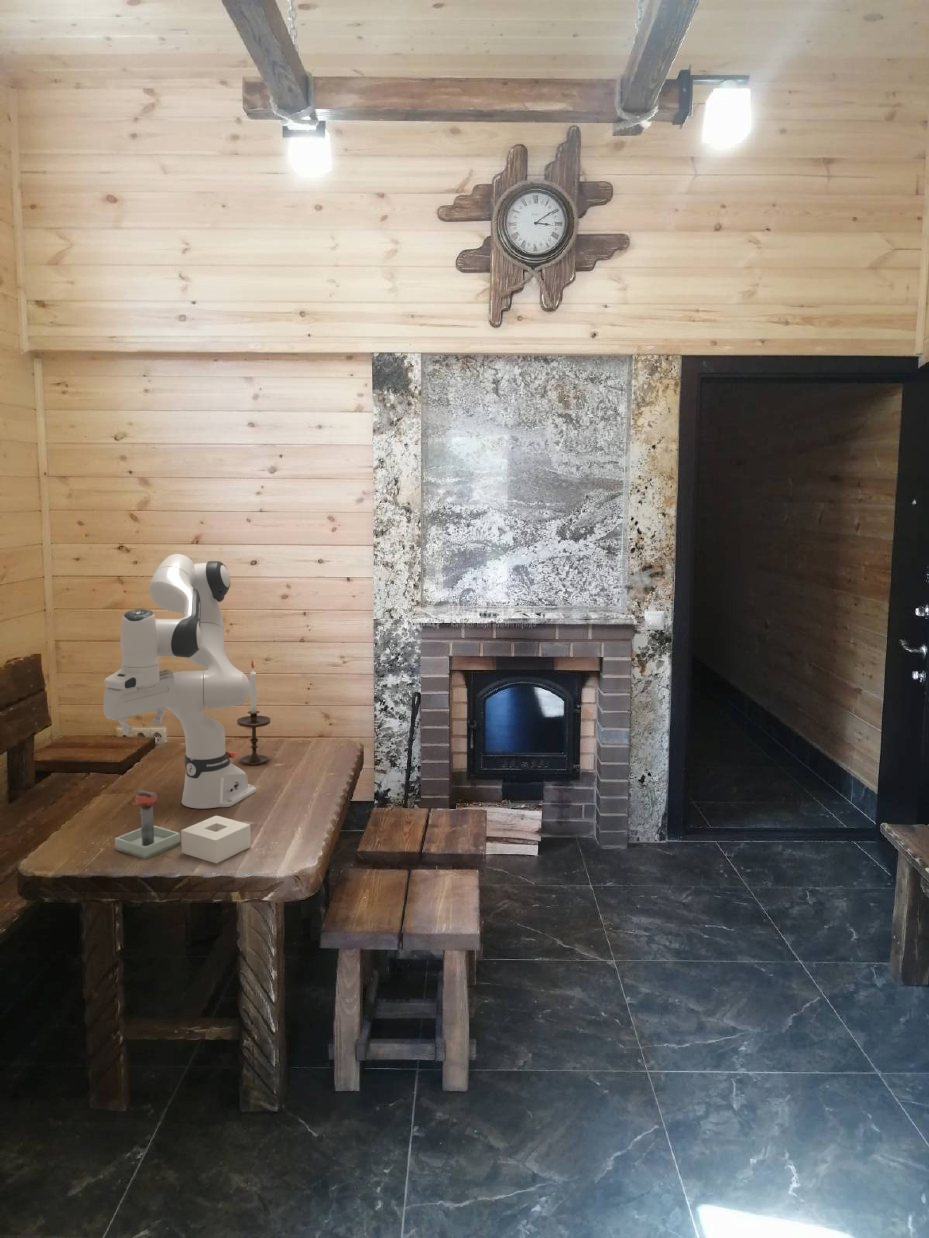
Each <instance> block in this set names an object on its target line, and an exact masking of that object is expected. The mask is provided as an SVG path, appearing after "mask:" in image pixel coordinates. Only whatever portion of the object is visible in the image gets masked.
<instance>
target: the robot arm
mask: <svg viewBox="0 0 929 1238" xmlns="http://www.w3.org/2000/svg"><path fill="white" fill-rule="evenodd" d="M230 588H231V577H230V573H229V571H228V568H227V566H226V565H225V564H224V563H223V562H222V561H219V560H209V561H207V562H199V563H194V562H193V560H192V559H191V558H190V557H189V556H187V555H185V554H181V553H173V554H171V555H168V556H166V557H165V558H164V559H163V560H162V561H161V563H160V564H159V565H158V567H157V568H156V569H155V571H154V574H153V575H152V577H151V580H150V583H149V595H150V597H151V599H152V601H153V602H154V603H155V604H156V605H157V606H158V607H159V608H160V609H163V610H165V611H167V612H173V613H174V612H176V613H180V614H184V615H183V617H181V618H156V615H155V613H154V612H153V611H152V610H149V609H140V608H137V609H133V610H129V611H126V612H125V613H124V614H123V615H122V618H121V626H120V650H121V653H122V659H121V664H120V665H121V668H120V669H118V670H117V671H116V672H114V673H112V674H110V675H109V676H107V677H105V679H104V680H103V685H104V687H106V689H105V691H104V693H103V698H102V699H103V703H102V704H103V705H102V706H103V710H102V711H103V716H105V718H106V719H109V720H112V721H117V722H118V723H119V725H120V726H121V727H122V734H123V735H129V734H132V733H133V727H132V725H129V724H128V721H129V717H132V716H136V715H139V714H144V713H147V712H152V711H156V713H155V717H153V718H152V725H153V726H161V725H162V724H163V717H164V716H165V713H166V710H169V711H170V712H171V713H172V714H173V715H175V716H176V717H177V719H178V720H179V722H180V724H181V727H182V729H183V733H184V741H185V754H184V769H185V774H184V786H183V791H182V799H181V804H182V805H183V806H185V807H187V808H192V809H213V808H229V807H232V806H234V805H236V804H237V803H239V802H241V801H242V800H244V799H245V798H247V797H249V796H251V795H252V794H254V793H256V792H257V788H256V787H255V785H252V784H249V782H248V775H247V773H246V772H245V771H244V770H243V769H242V768H240V767H238V766H236V765H235V764H233V763H232V762H231V760H230V759H232V760H233V759H236V757H237V755H238V754H237V752H236V751H230V750H229V751H227V750H226V730H225V727H224V726H223V724H222V723H220V722H219V721H218V720H216V719H213V718H211V717H209V716H208V715H205V713H204V712H203V710H204V709H225V708H231V707H236V706H240V705H243V704H244V703H245V702H247V700H248V698H249V697H250V695H251V694H250V679H249V678H248V677H247V675H246V674H245V673H244V672H243V671H241V670H240V669H238V668H237V667H235V666H234V665H233V664H232V663H231V662H230V660H229V659H228V656H227V654H226V649H225V648H226V647H225V631H224V629H225V628H224V627H225V626H224V617H223V612H222V608H221V605H220V603H221V602H223V600H224V599H225V596H226V595H227V594H228V592H229V591H230ZM159 657H176V658H186V659H189V661H191V662H192V663H193V664H195V665H196V666H200V667H201V668H203V669H204V670H184V671H181V670H180V671H176V672H173V671H171V670H170V669H165V670H164V669H163V670H160V660H159Z"/></svg>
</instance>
